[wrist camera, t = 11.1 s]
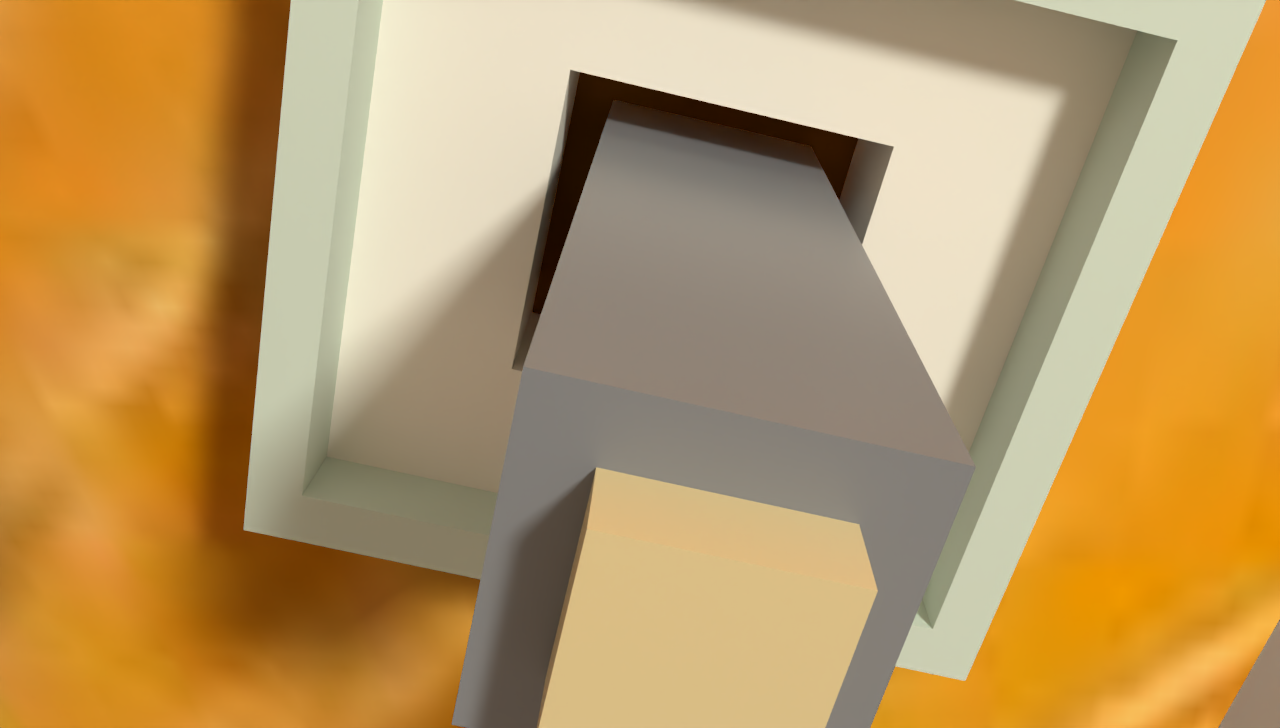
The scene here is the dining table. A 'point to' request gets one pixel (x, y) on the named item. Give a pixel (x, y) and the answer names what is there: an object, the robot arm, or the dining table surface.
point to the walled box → (740, 79)
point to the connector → (710, 456)
